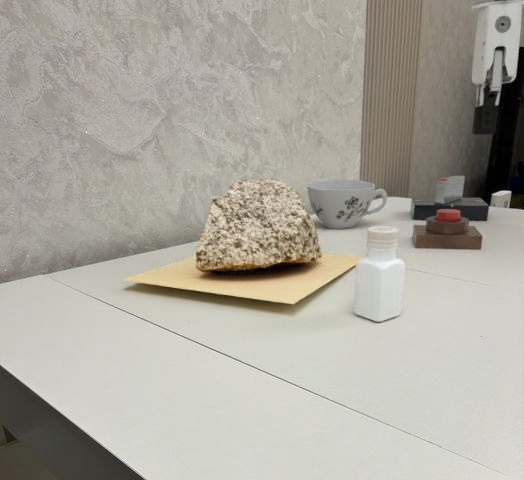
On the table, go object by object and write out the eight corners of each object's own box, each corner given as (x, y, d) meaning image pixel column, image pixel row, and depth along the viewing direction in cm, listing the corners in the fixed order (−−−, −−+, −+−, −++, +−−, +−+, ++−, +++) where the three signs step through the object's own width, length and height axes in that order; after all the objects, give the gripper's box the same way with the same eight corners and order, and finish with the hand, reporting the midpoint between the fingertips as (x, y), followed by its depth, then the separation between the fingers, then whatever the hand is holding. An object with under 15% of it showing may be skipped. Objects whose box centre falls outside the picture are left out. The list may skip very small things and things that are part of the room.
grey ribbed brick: (452, 197, 115) (455, 174, 113) (462, 198, 114) (465, 174, 112) (434, 203, 109) (436, 178, 107) (443, 204, 108) (446, 179, 106)
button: (457, 219, 90) (458, 209, 90) (460, 224, 87) (461, 212, 87) (434, 219, 91) (436, 208, 90) (437, 223, 88) (438, 212, 87)
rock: (227, 242, 93) (271, 154, 85) (326, 318, 90) (383, 234, 81) (116, 277, 70) (162, 161, 62) (245, 381, 66) (312, 274, 58)
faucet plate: (477, 211, 117) (479, 195, 116) (488, 223, 105) (490, 206, 104) (409, 210, 120) (411, 195, 118) (413, 221, 108) (414, 205, 107)
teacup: (307, 233, 100) (307, 188, 97) (305, 220, 111) (306, 179, 108) (390, 232, 99) (393, 186, 96) (380, 219, 111) (383, 178, 107)
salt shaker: (351, 314, 61) (355, 228, 57) (375, 306, 63) (381, 223, 59) (378, 324, 58) (385, 234, 54) (403, 316, 60) (411, 229, 56)
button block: (472, 238, 93) (476, 215, 92) (480, 250, 86) (484, 224, 84) (412, 237, 95) (414, 214, 93) (415, 248, 88) (417, 223, 86)
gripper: (542, -15, 71) (520, 136, 79) (515, 3, 85) (498, 131, 92) (481, -11, 73) (465, 137, 80) (464, 7, 86) (452, 132, 93)
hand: (483, 133), depth 86 cm, fingers closed
